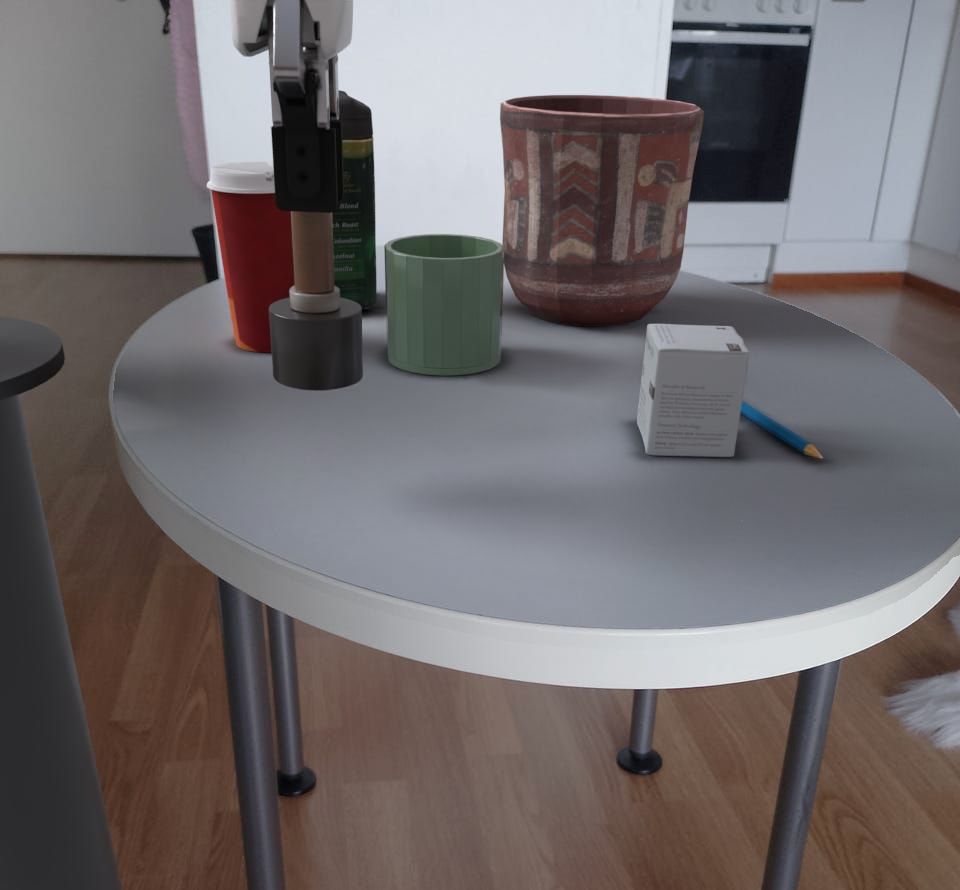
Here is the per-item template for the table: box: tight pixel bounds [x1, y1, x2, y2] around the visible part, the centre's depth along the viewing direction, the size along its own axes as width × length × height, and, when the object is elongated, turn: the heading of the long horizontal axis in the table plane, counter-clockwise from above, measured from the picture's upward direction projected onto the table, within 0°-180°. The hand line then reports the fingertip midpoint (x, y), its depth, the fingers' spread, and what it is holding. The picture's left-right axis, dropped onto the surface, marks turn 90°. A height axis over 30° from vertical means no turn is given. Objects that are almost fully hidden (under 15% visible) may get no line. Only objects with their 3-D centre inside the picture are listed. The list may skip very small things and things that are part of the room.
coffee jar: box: [330, 89, 377, 310], centre depth 100 cm, size 10×8×19 cm
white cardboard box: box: [636, 323, 751, 458], centre depth 73 cm, size 6×6×7 cm
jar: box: [383, 233, 505, 377], centre depth 88 cm, size 9×9×9 cm
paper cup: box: [206, 161, 295, 353], centre depth 90 cm, size 8×8×14 cm
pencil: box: [740, 400, 824, 459], centre depth 79 cm, size 1×17×1 cm, turn 19°
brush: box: [269, 211, 364, 392], centre depth 60 cm, size 5×5×15 cm
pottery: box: [499, 94, 705, 327], centre depth 100 cm, size 18×18×18 cm
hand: (310, 202), depth 58 cm, fingers closed on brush
